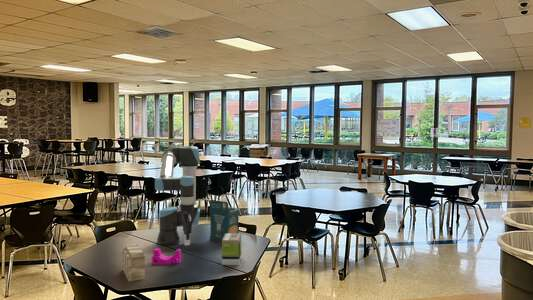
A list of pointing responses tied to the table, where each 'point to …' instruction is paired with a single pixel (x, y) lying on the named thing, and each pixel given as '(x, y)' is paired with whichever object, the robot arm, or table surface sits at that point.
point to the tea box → (231, 249)
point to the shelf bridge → (133, 262)
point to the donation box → (222, 220)
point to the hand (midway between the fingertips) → (187, 244)
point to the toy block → (165, 257)
